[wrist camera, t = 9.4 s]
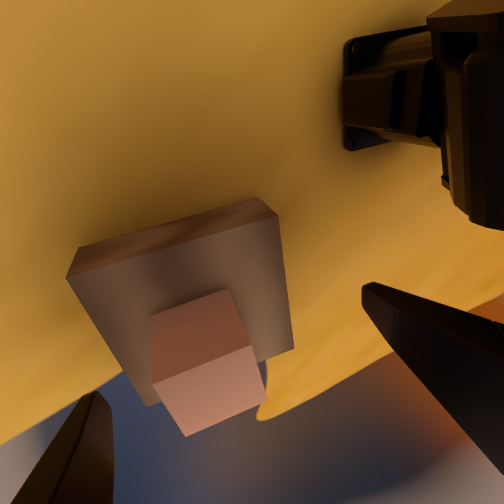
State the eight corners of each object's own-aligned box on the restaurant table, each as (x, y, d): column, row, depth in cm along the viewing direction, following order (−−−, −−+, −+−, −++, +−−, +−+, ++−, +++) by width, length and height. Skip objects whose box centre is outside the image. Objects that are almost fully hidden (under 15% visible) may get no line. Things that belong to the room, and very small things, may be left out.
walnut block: (256, 195, 20) (277, 215, 17) (275, 316, 27) (294, 348, 23) (79, 244, 18) (65, 277, 15) (146, 364, 24) (146, 407, 21)
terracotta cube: (227, 287, 18) (251, 344, 14) (243, 339, 21) (267, 400, 17) (150, 316, 18) (151, 384, 13) (177, 366, 20) (185, 436, 16)
